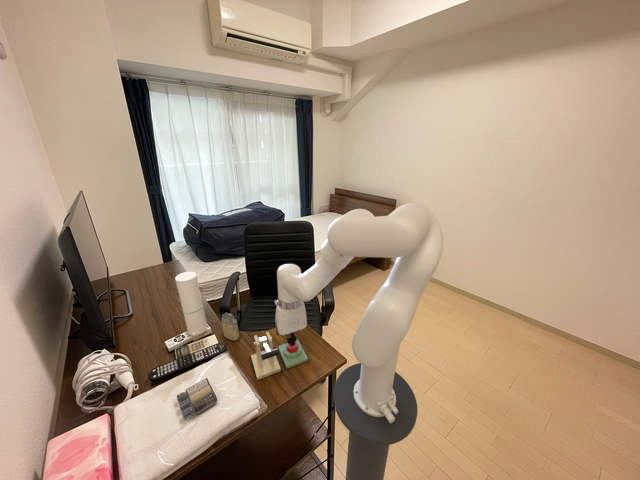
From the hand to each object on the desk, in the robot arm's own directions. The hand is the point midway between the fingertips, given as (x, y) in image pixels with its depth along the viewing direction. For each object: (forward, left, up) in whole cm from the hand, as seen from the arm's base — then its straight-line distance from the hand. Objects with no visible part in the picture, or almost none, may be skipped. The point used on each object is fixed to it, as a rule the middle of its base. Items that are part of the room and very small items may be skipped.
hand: (291, 343), depth 90 cm
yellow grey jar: (+19, +19, -5) cm, 27 cm away
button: (0, 0, -3) cm, 3 cm away
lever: (-5, +10, +5) cm, 12 cm away
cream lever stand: (0, +10, -5) cm, 11 cm away
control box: (0, 0, -5) cm, 5 cm away
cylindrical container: (+29, +31, -5) cm, 42 cm away
